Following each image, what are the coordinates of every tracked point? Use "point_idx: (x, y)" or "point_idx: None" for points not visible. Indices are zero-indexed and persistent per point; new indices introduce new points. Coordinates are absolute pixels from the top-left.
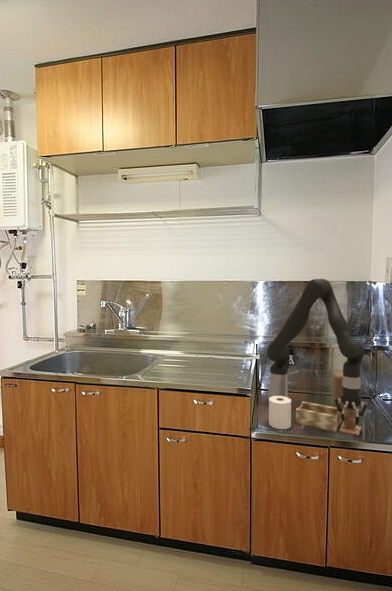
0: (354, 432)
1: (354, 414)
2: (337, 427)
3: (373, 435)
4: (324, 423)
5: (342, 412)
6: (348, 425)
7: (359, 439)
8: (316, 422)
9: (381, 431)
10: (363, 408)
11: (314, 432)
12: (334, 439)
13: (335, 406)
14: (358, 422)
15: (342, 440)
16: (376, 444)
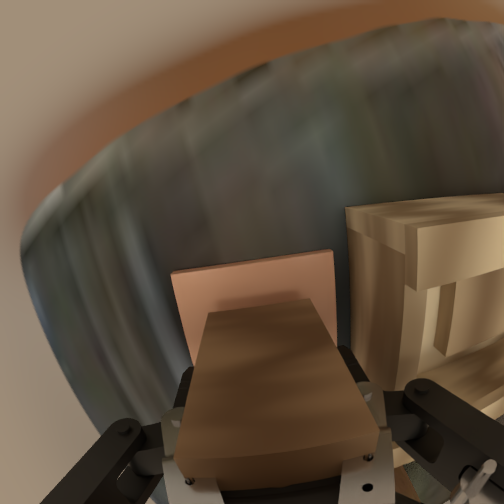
0: (208, 278)
1: (198, 402)
2: (355, 271)
3: (101, 331)
4: (455, 203)
5: (374, 391)
6: (269, 307)
7: (146, 195)
8: (493, 199)
9: (101, 405)
10: (77, 496)
11: (453, 113)
12: (311, 67)
13: (404, 481)
14: (185, 374)
15: (253, 85)
16: (45, 200)
